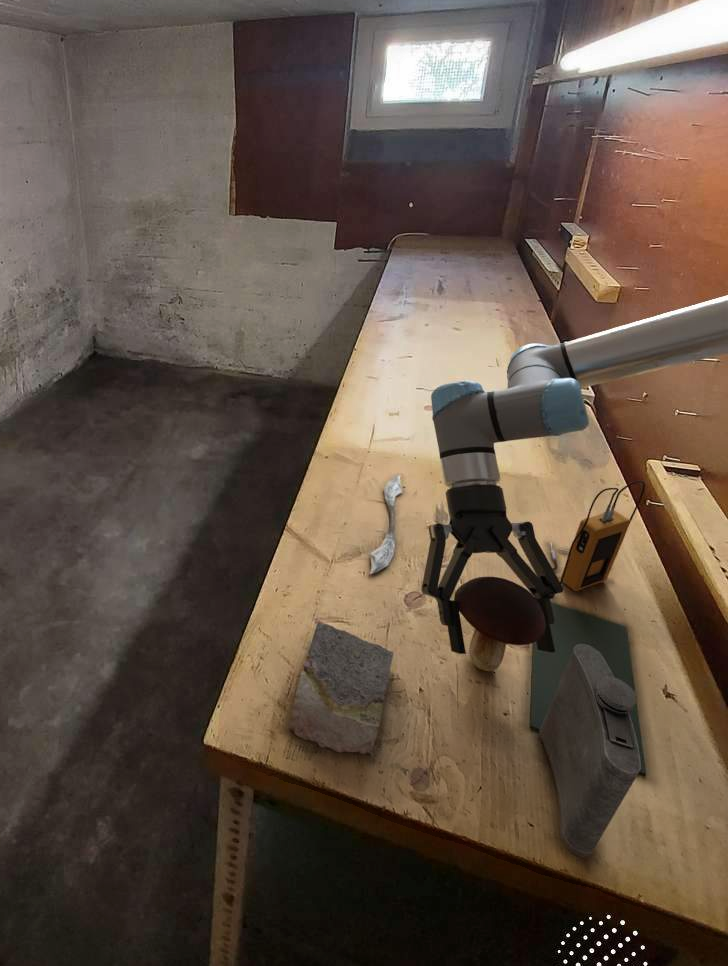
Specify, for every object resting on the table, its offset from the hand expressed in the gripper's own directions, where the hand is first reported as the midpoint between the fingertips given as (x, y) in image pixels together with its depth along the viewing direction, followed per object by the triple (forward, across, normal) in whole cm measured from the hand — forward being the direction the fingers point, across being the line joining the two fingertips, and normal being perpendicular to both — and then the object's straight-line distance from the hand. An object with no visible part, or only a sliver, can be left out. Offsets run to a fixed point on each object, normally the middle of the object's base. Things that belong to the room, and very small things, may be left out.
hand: (502, 651), depth 75 cm
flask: (+14, -2, +5) cm, 15 cm away
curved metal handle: (-20, +4, -28) cm, 35 cm away
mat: (+4, -13, -5) cm, 14 cm away
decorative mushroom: (+3, 0, -6) cm, 7 cm away
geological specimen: (+6, +21, -3) cm, 22 cm away
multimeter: (-10, -22, -20) cm, 31 cm away
